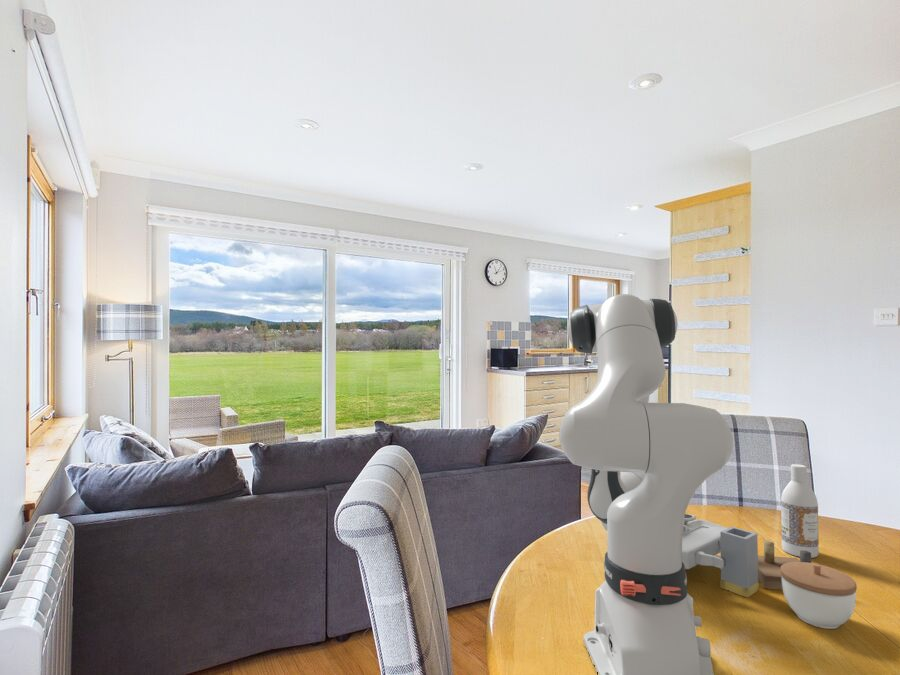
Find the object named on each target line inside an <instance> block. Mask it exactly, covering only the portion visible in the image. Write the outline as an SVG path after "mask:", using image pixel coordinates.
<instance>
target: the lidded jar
mask: <svg viewBox="0 0 900 675" xmlns="http://www.w3.org/2000/svg"><path fill="white" fill-rule="evenodd" d="M780 572H781V582H782V589H783V590H782V592H783V596H784V598H785V601H786V603H787V605H788V606H789V608H790V609H791V610H792V611H793V612H794V613H795V614H796V616H797V617H798V619H800V621H802V622H804V623H806V624H808V625H811V626H813V627H816V628H820V629H825V630H833V629H834V630H835V629H838V628H840V627H841V625H843V624H845V623H846V622H847V621H849V620H850V618H851V617H852V616H853V614H854V611H855V607H856V601H857V600H856V599H857V597H856V596H857V590H858V589H857V588H858V587H857V582H856V581H855V580H854V579H853V578H852V577H851V576H850V575H849V574H846V573H844V572H843V571H841V570H838V569H836V568H832V567H829V566H827V565H822V564H820V563H813V562H811V563H808V562H788V563H785V564H783V565H782V566H781V568H780Z"/></svg>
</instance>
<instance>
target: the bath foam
mask: <svg viewBox="0 0 900 675" xmlns="http://www.w3.org/2000/svg"><path fill="white" fill-rule="evenodd" d="M790 477H791V478H790V481H789V482H788V483H787V485H786V486H785V487H784V489H783V491H782V493H781V496H780V497H781V498H780V504H781V506H780V513H781V515H780V517H781V518H780V519H781V522H780V523H781V548H782V550H783V551H784V552H785V553H787V554H789V555H792V556H796V557H797V558H798V557H799V558H800V551H801V550H803V551H808V552H810V553H811V559H813V558H816V557H818V556H819V554H820V552H819V548H820V547H819V545H820V544H819V503H818V498H817V495H816V494H815V492H814V490H813V489H812V488H811V486H810V484H809V483H808V482H807V481H808V479H807V478H808V477H807V466H806V465H803V464H799V463H795V464H794V463H793V464H790Z"/></svg>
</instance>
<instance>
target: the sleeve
mask: <svg viewBox="0 0 900 675" xmlns="http://www.w3.org/2000/svg"><path fill="white" fill-rule="evenodd" d="M726 528H727V529H725V530H723V531H721V532H720V540H721V553H720V556H721V557H724V558H725V559H726V566H725V567H723V568H720V582H719V584H720V588H721V589H723V588H724V590H725V591H726V590H727V591H728V590H729V591H728V592H731V593H734V594H736V595H739V596H742V597H745V598H749V597H751V596H752V595H754V594H755V593H757V592H759V590H760V582H759V581H758V553H759V550H758V533H757V532H754V531H749V530H747V529H742V528H739V527H735V526H732V525H731V526H729V527H726Z"/></svg>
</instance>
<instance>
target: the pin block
mask: <svg viewBox="0 0 900 675" xmlns="http://www.w3.org/2000/svg"><path fill="white" fill-rule="evenodd" d="M788 562H808V563H812V558H811V553H810V552H808V551H803V550H801V551H800V557H799V559H798V557H783V556H775V542H773V541H770V540H764V541H763V555H758V582H759V584H761V585H762V586H763V587H764V589H765V588H768V589H767V590H778V591H783V589H782V582H781V572H780V568H781V566H782V565H783V564H785V563H788Z"/></svg>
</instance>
